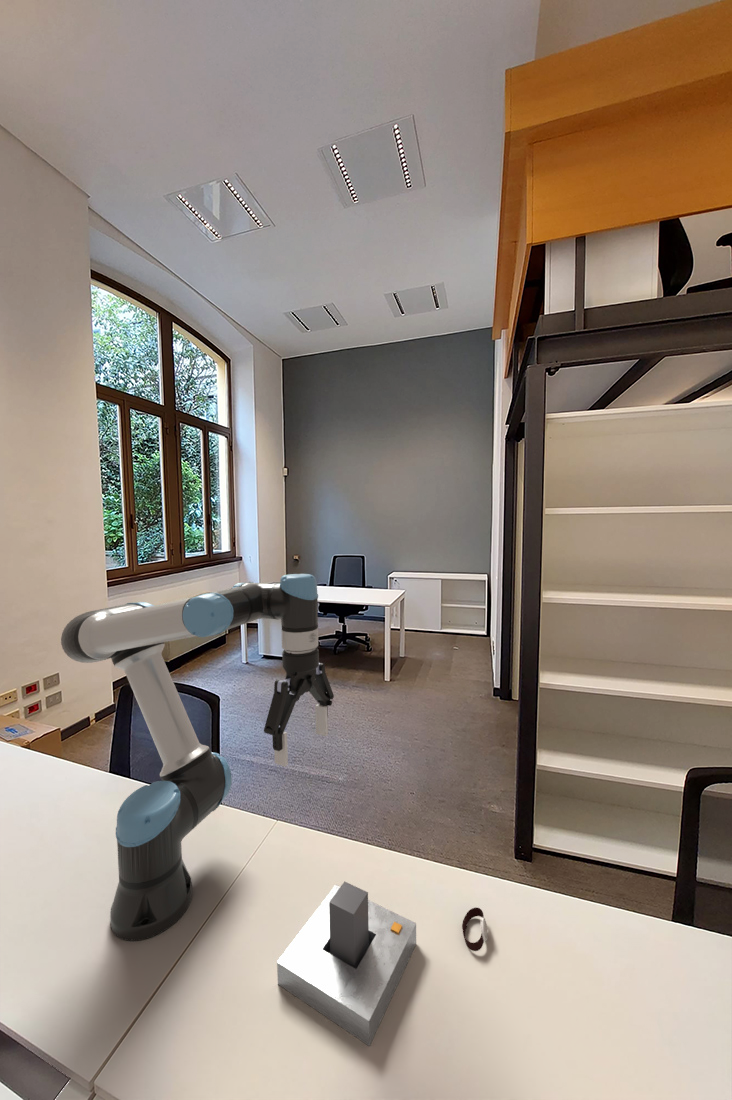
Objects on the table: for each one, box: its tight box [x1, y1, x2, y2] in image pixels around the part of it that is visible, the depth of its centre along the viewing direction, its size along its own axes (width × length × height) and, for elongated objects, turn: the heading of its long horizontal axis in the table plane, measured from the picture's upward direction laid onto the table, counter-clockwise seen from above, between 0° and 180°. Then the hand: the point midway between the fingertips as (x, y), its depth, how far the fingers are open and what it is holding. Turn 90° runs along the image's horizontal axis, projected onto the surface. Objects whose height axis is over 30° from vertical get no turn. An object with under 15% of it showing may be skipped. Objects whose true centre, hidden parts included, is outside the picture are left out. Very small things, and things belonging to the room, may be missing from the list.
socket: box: [276, 884, 417, 1047], centre depth 76 cm, size 18×18×4 cm
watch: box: [461, 907, 489, 952], centre depth 81 cm, size 8×5×4 cm, turn 160°
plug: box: [329, 881, 369, 969], centre depth 76 cm, size 5×5×12 cm
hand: (302, 748), depth 89 cm, fingers open, 13 cm apart
